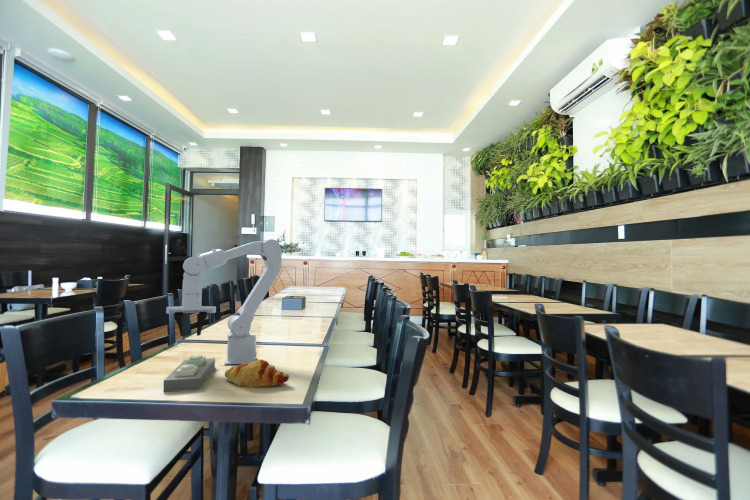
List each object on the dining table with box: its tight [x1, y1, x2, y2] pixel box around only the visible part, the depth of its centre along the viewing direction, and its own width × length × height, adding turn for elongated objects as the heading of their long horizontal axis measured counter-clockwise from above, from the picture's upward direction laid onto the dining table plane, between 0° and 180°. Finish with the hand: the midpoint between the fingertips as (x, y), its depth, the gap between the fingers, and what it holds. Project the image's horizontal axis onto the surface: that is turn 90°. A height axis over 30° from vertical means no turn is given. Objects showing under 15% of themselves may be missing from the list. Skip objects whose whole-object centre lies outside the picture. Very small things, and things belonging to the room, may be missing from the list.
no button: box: [176, 364, 198, 377], centre depth 103 cm, size 4×4×4 cm
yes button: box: [186, 354, 206, 366], centre depth 113 cm, size 4×4×4 cm
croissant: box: [224, 359, 290, 388], centre depth 105 cm, size 21×10×8 cm, turn 74°
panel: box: [163, 357, 216, 393], centre depth 108 cm, size 9×20×3 cm, turn 13°
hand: (190, 335), depth 119 cm, fingers open, 4 cm apart
